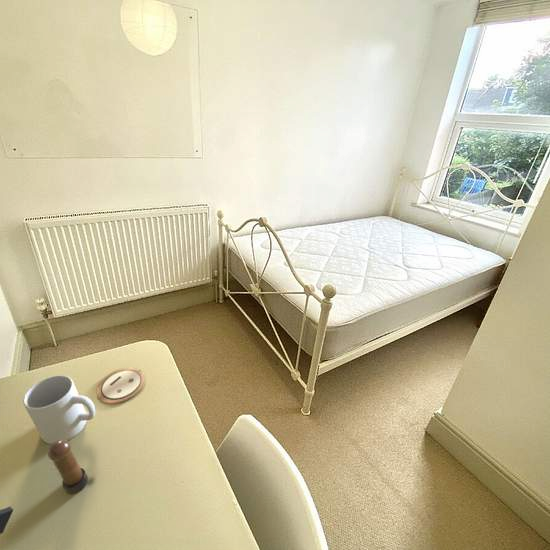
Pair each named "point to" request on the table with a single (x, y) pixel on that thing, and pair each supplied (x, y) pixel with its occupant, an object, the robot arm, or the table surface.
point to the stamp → (67, 466)
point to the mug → (57, 408)
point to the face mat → (121, 385)
